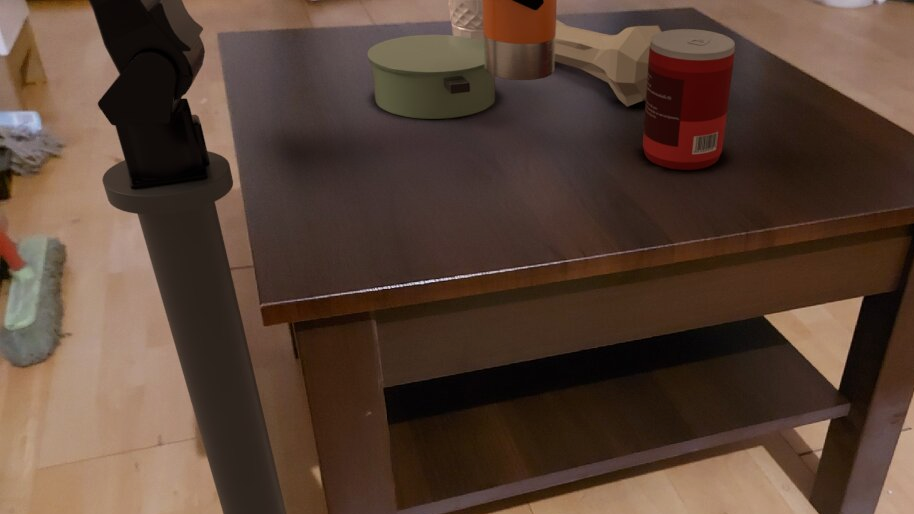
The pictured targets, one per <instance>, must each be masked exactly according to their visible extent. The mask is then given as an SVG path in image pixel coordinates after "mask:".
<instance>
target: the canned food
mask: <svg viewBox="0 0 914 514" xmlns="http://www.w3.org/2000/svg"><path fill="white" fill-rule="evenodd" d="M735 46H736V42H735V41H734V39H732V38H731V37H729V36H727V35H725V34H722V33H720V32H715V31H711V30H704V29H695V28H694V29H693V28H692V29H691V28H680V29H669V30H664V31H662V32H660V33H657V34H655V35H654V36H652V37H651V43H650V49H649V59H648V75H647V90H646V101H645V106H644V107H645V108H644V122H643V137H642V147H643V152H644V155H645V157H646V159H647V160H648V161H650V162H651V163H653V164H654V165H657V166H660V167H662V168H666V169H671V170H679V171H694V170H701V169H706V168H708V167H711V166H712V165H714V164H716V163H717V162H718V161H719V159H720V156H721V155H722V153H723V148H724V147H723V146H724V139H725V131H726V122H727V118H728V117H727V115H728V108H729V101H730V93H731V84H732V78H733V71H734V70H733V69H734V62H735V61H734V59H735V52H736V48H735Z"/></svg>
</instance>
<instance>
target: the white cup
mask: <svg viewBox="0 0 914 514" xmlns="http://www.w3.org/2000/svg"><path fill="white" fill-rule="evenodd" d="M447 4H448V12H449V19H450V22H451V36H461V37H467V38H472V39H476V40H480V41H483V42H484V34H483V0H447Z"/></svg>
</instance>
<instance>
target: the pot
mask: <svg viewBox="0 0 914 514" xmlns="http://www.w3.org/2000/svg"><path fill="white" fill-rule="evenodd" d="M366 55H367V61H369V63H370V64H371V65H370V66H371V73H372V83H373V93H374V101H375V104H376V105H377V106H378V107H379V108H380V109H381V110H383V111H385V112H387V113H389V114H393V115H397V116H401V117H406V118H412V119H422V120H423V119H425V120H441V119H442V120H443V119H453V118H460V117H466V116H470V115H474V114H477V113H480V112H483V111H485V110H487V109H489V108H490V107H492V105H493V104H494V103H495V102H496V77H495V76H493V75H490V74H489V73H487V72H486V71H485V63H484V42H483V41H480V40H476V39H472V38H467V37H461V36H452V34H451V35H449V34H417V35H408V36H407V35H406V36H400V37H396V38H391V39H386V40H384V41H380V42H379V43H376V44H375V45H373V46H371V47H370V48H369V49H368V51H367V53H366Z"/></svg>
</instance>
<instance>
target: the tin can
mask: <svg viewBox="0 0 914 514" xmlns="http://www.w3.org/2000/svg"><path fill="white" fill-rule="evenodd" d="M557 1H558V0H544V3H543V5H542V6H541V7H540V8H539V9H538V10H533V9H531V8H528V7H526V6H524V5H522V4H519V3H517V2H515V1H512V0H483V34H484V63H485V71H486V72H487V73H489V74H490V75H493V76H495V78H500V79H505V80H511V81H533V80H541V79H545V78H547V77H551V76H552V75H553V74H554V73H555V66H556V65H555V64H556V62H555V36H556V19H557Z"/></svg>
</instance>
